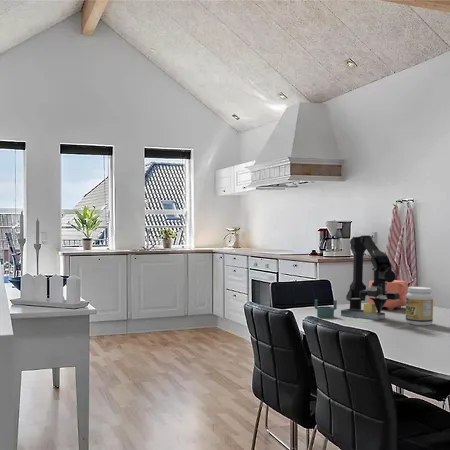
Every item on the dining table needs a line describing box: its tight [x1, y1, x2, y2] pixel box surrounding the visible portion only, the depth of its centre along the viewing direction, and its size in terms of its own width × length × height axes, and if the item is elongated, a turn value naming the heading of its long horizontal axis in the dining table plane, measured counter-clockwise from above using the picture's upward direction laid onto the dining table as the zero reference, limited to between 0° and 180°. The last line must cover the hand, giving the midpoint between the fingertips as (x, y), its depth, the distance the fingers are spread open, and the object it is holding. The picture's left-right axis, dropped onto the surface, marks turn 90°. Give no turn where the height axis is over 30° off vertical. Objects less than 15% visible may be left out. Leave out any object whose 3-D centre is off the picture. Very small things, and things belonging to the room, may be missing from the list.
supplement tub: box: [405, 286, 434, 326], centre depth 283 cm, size 12×12×17 cm
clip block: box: [363, 302, 377, 314], centre depth 295 cm, size 4×4×5 cm
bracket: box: [314, 299, 338, 319], centre depth 297 cm, size 9×9×9 cm
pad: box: [350, 317, 375, 323], centre depth 287 cm, size 9×9×1 cm
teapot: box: [367, 279, 409, 311], centre depth 338 cm, size 25×23×18 cm
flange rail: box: [340, 308, 386, 321], centre depth 298 cm, size 9×20×3 cm, turn 47°
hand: (379, 312), depth 292 cm, fingers closed
